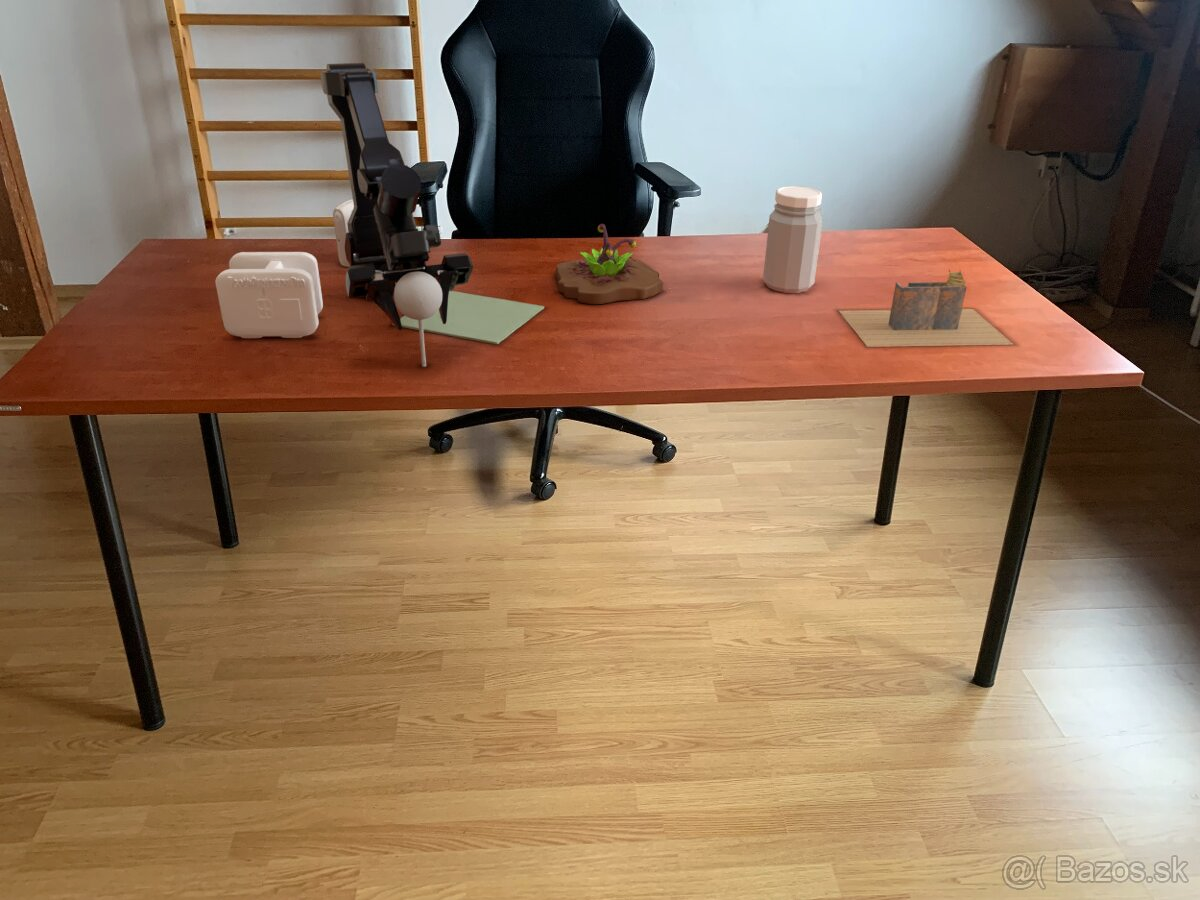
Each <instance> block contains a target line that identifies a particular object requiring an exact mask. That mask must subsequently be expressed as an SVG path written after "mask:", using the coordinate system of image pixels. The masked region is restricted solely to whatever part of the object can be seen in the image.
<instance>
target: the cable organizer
mask: <svg viewBox="0 0 1200 900" xmlns="http://www.w3.org/2000/svg"><path fill="white" fill-rule="evenodd" d="M228 266H229V268H228V269H225V270H223V271H221V272H220V273H219V274H218V275H217V277H216V278H215V283H214V284H215V287H216V293H217V299H218V304H219V308H220V313H221V319H222V323H223V328H224V329H225V331H226V332H227V333H228V334H230V335H232V336H235V337H240V338H242V339H261V338H263V337H281V338H283V339H300V338H303V337H307V336H310V335H313V334H314V333H315V332H316V331H317V329H318V327H319V324H320V323H319V322H320V320H319V315H320V313H321V312H322V310H323V307H324V302H323V294H322V287H321V286H322V285H321V279H320V272H319V266H318V260H317V258H316V257H315V256H314V255H313V254H311V253H309V252H305V251H241V252H237V253H235V254H234V255H233V256H232V257H231V258H230V259H229V261H228Z"/></svg>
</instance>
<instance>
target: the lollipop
mask: <svg viewBox="0 0 1200 900" xmlns="http://www.w3.org/2000/svg"><path fill="white" fill-rule="evenodd" d="M395 285H396V286H395V289H394V293H393V300H394V303H395V306H396V308H397V310H398V311H399V312H400V313H401V314H402V315H403V316H407V317H409V318H411V319H415V320H418V324H419V330H418V334H419V348H420V357H421V358H420V360H421V367H422V368H425V367H427V358H426V347H425V334H424V332H425V331H423V319H427V318H430V317H431V316H433V315H434V314H435V313H436V312H437V311H438V309H439V308H440V306H441V303H442V289H441V287H440V285H439V283H438V282H437V280H436V278H434V277H432V276H431V275H429V274H427V273H424V272H411V273H408V274H406V275H404V276H403V277H402V278H401V279H400V280H399V281H398V282H397V283H395Z"/></svg>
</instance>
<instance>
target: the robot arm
mask: <svg viewBox="0 0 1200 900" xmlns="http://www.w3.org/2000/svg"><path fill="white" fill-rule="evenodd" d="M320 83H321V88H322V92H323V94H324V95H326V97H327V103H328V106H329V107H330V108H331V109H332V111H333V113H334V114H335V115H336V116H337V117H338V118H339V120H340V125H341V133H342V138H343V143H344V150H345V152H344V153H345V158H346V164H347V165H346V166H347V170H348V176H349V184H350V190H351V196H352V199H353V203H354V208H353V211H352V213H351V215H350V218H349V220H348V223H347V224H348V233H346V239H345V254H346V259H347V261H348V263H349V264H350V267H347V270H346V273H345V290H346V294H347V298H348V299H360V298H362V299H365V300H366V301H367V302H373V303H374V304H375V305H376V306H377V307H378V308H379V309H380V310H381V311H382V312H383V313H384V314H385V315H386V316H387V318H388V319H389V320H390V322H391V323H392V325H393V324H394V325H395V326H394V327H395V328H396V329H397V330H398V331H402V329H403V327H402V325H401V320H400V318H401V316H400V314H399V312H398V311H399V310H398V308H397V306H396V304H395V301H394V296H393V295H394V289H395V286H396V284H397V282H398V281H399V280H400V279H401V278H402V277H403V276H404V275H406V274H408V273H411V272H424V273H427V274H429V275H431V276H432V277H434V278H435V279H436V280H437V282H438V283H439V285H440V287H441V289H442V303H441V306H440V308H439V313H440V317H441V320H442V322H443V324H446V322H447V309H448V296H449V291H454V289H455V287H456V286H460V285H465V284H467V283H469V279H470V277H471V274H472V272H473V270H474V264H473V260H472V258H471V257H470V255H469V254H468V253H466V252H460V253H451V254H450V253H449V254H444V255H443V257H442V260H441V263H439V264H430V265H429V264H428V265H427V263H426V262H429V260H430V253H431V249H432V248H438V247H440V246H441V245H442V238H441V234H440V233H441V232H440V230H439V227H438V224H436V223H435V224H426V225H424V226H423V228H422V230H419V229H418V228H417V225H416V221H415V218H414V214H413V213H415V212H416V210H417V205H418V201H419V196H420V192H421V187H422V180H421V176H420V175H419V174H418V173H417V172H416V171H415V170H414V168H411V166H408V165H407V164H406V165H405V161H404V159H403V158H404V157H403V156H402V154H401V151H400V150H399V149H398V148H397V147H396V146H395V145H393V144H392V143H390V140H389V137H388V135H387V131H386V127H385V124H384V120H383V117H382V114H381V113H382V112H381V109H380V106H379V103H378V99H377V97H376V94H378V93H379V90H378V81H377V71H376V69H371V68H367V66H366V64H365V62H341V63H340V62H339V63H327V64H326V70H321V71H320ZM354 254H355V255H354Z"/></svg>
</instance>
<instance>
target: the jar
mask: <svg viewBox="0 0 1200 900" xmlns="http://www.w3.org/2000/svg"><path fill="white" fill-rule="evenodd" d="M822 198H823V193H822V192H821V190H818V189H816V188H813V187H807V186H801V185H799V186H798V185H797V186H796V185H790V186H782V187H780V188H778V189H775V198H774V200H775V204H774V205H773V207H774V210H773V211H772V212H771V213H770V214H769V218H768V228H767V236H766V237H767V238H766V247H765V254H764V255H765V257H764V266H763V274H762V275H763V276H762V279H763V282H764V284H765V285H766V287H767V288H769V289H770V290H773V291H775V292H780V293H784V294H798V293H804V292H806V291H808V290H809V289H810V288H812V286H813V285H815V282H816V274H817V265H818V259H819V251H820V244H821V237H822V230H823V222H824V220H823V218H822V216H821V214H820V213H819V212H821V208H820V205H822V202H823V201H822V200H823V199H822Z"/></svg>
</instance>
